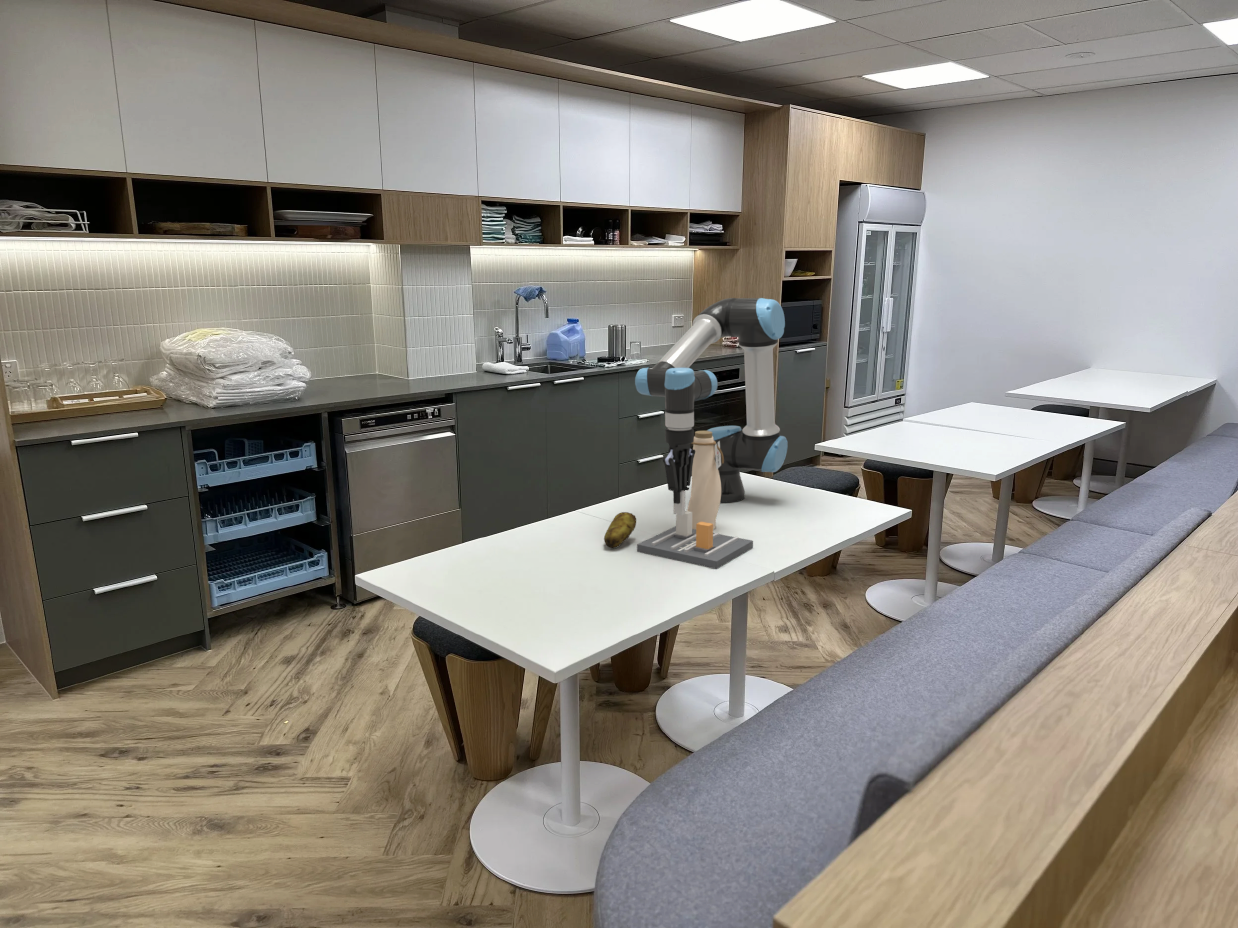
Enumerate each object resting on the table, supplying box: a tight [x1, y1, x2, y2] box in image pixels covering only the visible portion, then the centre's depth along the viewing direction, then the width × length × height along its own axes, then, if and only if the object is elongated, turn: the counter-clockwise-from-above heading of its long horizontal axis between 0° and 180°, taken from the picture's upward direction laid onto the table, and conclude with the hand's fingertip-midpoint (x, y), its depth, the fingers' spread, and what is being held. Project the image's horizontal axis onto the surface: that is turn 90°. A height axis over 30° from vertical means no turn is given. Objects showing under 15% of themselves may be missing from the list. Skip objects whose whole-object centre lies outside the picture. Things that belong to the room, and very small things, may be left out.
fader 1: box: [674, 510, 694, 539], centre depth 234 cm, size 4×4×7 cm
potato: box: [603, 511, 637, 549], centre depth 235 cm, size 8×13×8 cm, turn 138°
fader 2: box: [694, 522, 715, 553], centre depth 223 cm, size 4×4×7 cm
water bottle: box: [686, 430, 724, 530], centre depth 247 cm, size 10×9×28 cm
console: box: [636, 525, 754, 570], centre depth 230 cm, size 20×24×3 cm
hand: (679, 513), depth 231 cm, fingers closed
